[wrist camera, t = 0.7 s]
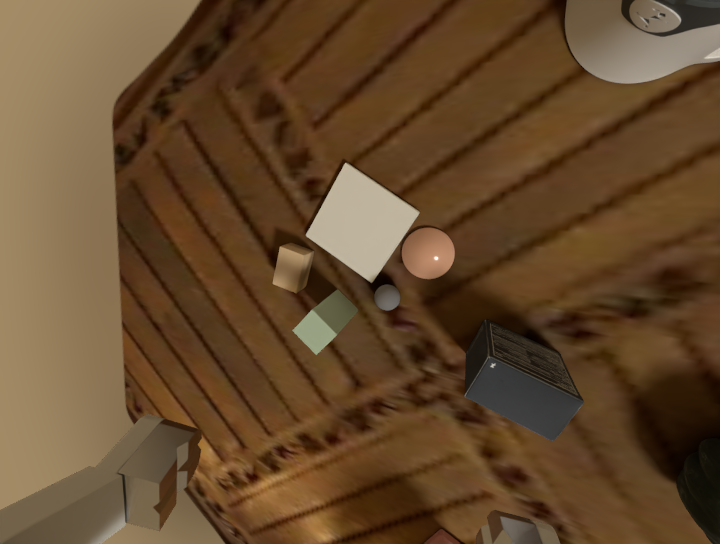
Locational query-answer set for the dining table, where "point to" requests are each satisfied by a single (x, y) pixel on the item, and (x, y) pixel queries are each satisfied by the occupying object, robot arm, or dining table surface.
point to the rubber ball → (387, 297)
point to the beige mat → (361, 222)
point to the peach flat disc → (428, 253)
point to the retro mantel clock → (441, 538)
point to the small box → (520, 380)
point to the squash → (703, 487)
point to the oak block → (293, 267)
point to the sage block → (325, 321)
